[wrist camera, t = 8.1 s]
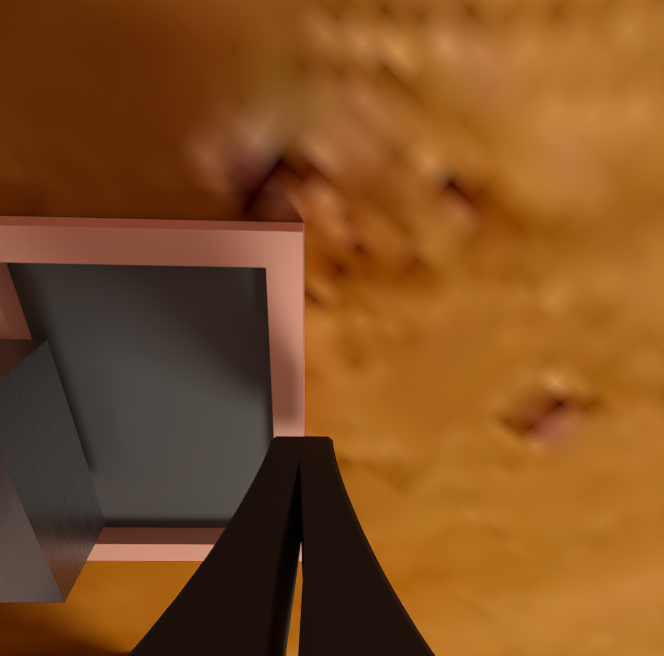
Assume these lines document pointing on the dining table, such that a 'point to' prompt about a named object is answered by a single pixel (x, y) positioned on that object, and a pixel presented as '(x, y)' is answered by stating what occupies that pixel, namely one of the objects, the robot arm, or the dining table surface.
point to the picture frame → (164, 361)
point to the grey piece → (41, 480)
